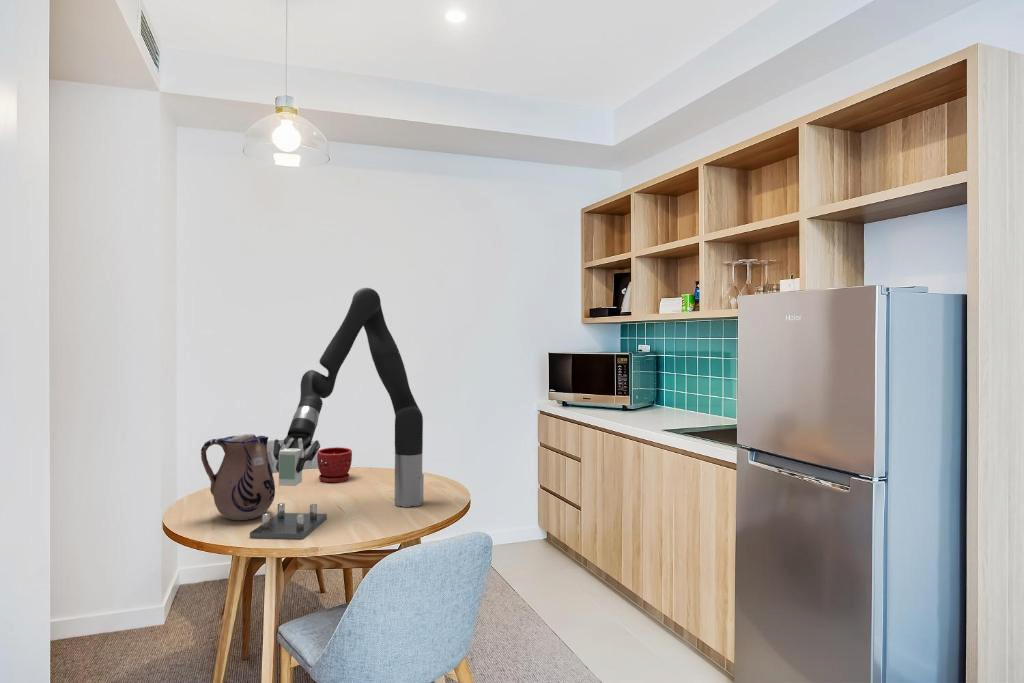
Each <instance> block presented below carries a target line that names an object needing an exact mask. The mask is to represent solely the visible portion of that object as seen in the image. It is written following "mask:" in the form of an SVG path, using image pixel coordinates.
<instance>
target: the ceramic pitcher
mask: <svg viewBox="0 0 1024 683" xmlns="http://www.w3.org/2000/svg"><path fill="white" fill-rule="evenodd" d="M268 441H269V436H265V435H258V436H256V434H254V433H253V434H240V435H239V434H238V435H230V436H226V437H222V438H220V437H219V438H211V439H209V440H208V441H205V443H204V444H203V445H202V447H201V449H200V457H201V462H202V465H203V467H204V470H205V472H206V474H207V476H208V478H209V480H210V493H211V495H212V496H213V500H214V502H213V503H214V505H215V507H216V509H217V511H218V512H219V513H220V514H221V515H222V516H223V517H225V518H226V519H229V520H230V519H231V521H247V520H249V519H250V520H253V519H256V518H259V517H262V514H263V513H267V511H268V510H269V509H270V507H271V506H272V504H273V502H274V499H275V496H276V485H275V479H274V475H273V474H272V470H271V467H270V463H269V459H268V455H267V451H268ZM213 445H218V446H220V447H221V448H222V451H223V452H224V456H223V458H222V462H221V463H220V465H219V469H218V470H217V472H216V474H215V473H214V471H213V468H212V467H211V465H210V464H209V461H208V457H207V452H208V449H209V448H210V447H211V446H213Z"/></svg>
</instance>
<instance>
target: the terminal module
mask: <svg viewBox="0 0 1024 683" xmlns="http://www.w3.org/2000/svg"><path fill="white" fill-rule="evenodd" d="M300 454H301V449H298V448H288V449H283V448H282V449H280V451H279V472H278V486H282V487H283V486H287V487H289V486H290V487H296V486H298V485H299V484H301V483H302V482H303V470H302V471H300V473H297V471H296V466H297V463H298V460H299V459H300Z"/></svg>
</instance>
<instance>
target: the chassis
mask: <svg viewBox="0 0 1024 683" xmlns="http://www.w3.org/2000/svg"><path fill="white" fill-rule="evenodd" d="M285 504H286V503H283V502H282V503H277V514H276V515H274V516H273V517H271V513H270V512H265V513H263V514H262V515H261V518H262V520H261V523H262V524H260V525H259V526H257V528H254V529H253V530H252V531H250V532H249V538H250V539H269V538H273V539H275V540H276V539H278V540H279V539H281V540H283V539H284V540H304V538H306V537H308V536H309V535H310V534H311V533H312V532H313V531H314V530H316V529H317V528H318V527H319V526H320V525H321V524H323V523H324V522H325V521H326V520H327V519H328V514H327V513H318V504H317V503H311V504H310V505H309V513H306V512H305V513H304V512H303V513H301V512H300V513H299V512H298V513H297V512H286V507H285V506H286V505H285ZM270 517H271V518H270ZM310 532H311V533H310Z"/></svg>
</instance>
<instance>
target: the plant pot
mask: <svg viewBox="0 0 1024 683" xmlns="http://www.w3.org/2000/svg"><path fill="white" fill-rule="evenodd" d="M316 455H317V456H316V457H317V461H316V462H317V468H318V471H319V476H318V479H319V480H320V481H322V482H324V483H328V482H337V483H341V482H345V481H347V480H348V479H349V478H350V473H349V471H350V469H351V466H352V459H353V450H352V449H351V448H347V447H340V446H338V447H337V446H336V447H326V448H321V449H319V450H318V451H317V453H316Z"/></svg>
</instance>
